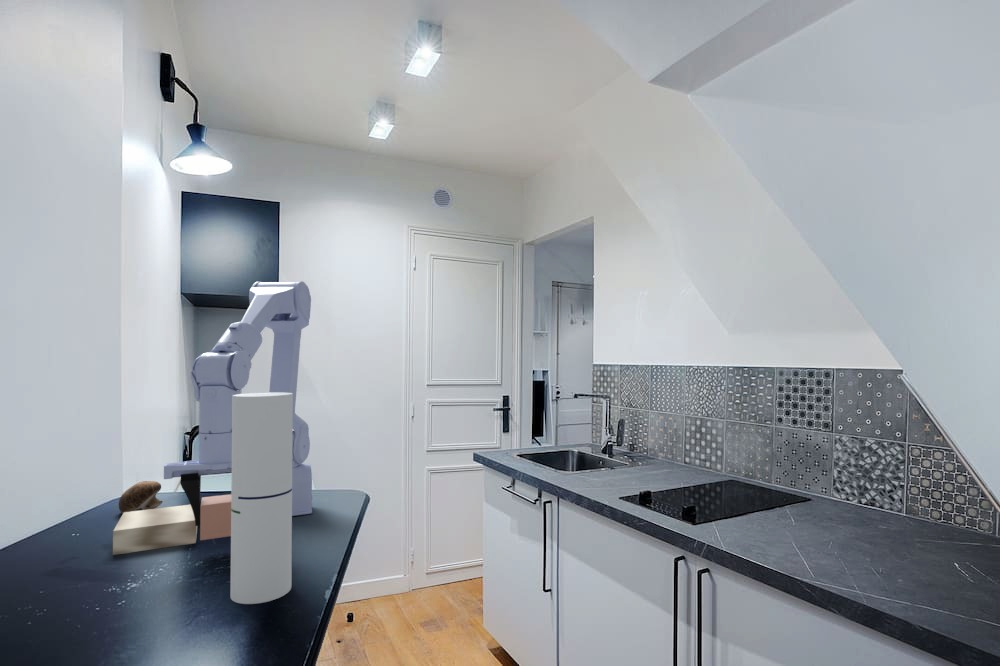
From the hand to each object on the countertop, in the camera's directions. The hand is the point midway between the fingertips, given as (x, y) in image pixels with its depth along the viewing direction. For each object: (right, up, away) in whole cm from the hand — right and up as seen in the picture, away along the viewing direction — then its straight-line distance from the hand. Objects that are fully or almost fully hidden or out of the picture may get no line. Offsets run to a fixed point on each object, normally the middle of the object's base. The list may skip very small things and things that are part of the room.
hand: (219, 521), depth 83 cm
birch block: (-14, -6, +7) cm, 17 cm away
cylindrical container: (+12, -5, -13) cm, 19 cm away
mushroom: (-27, -6, +23) cm, 36 cm away
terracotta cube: (0, -2, 0) cm, 2 cm away
